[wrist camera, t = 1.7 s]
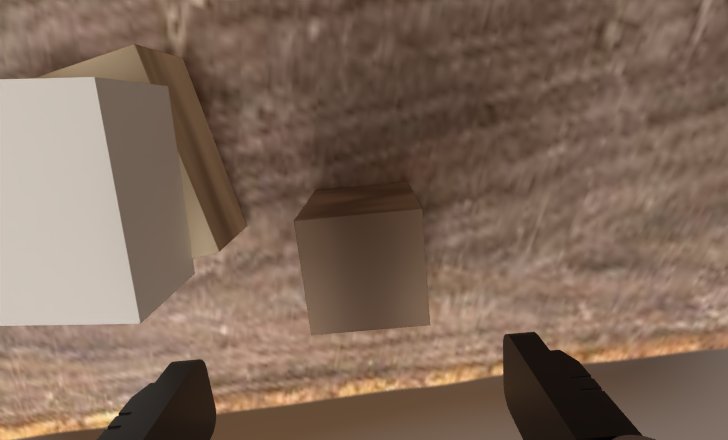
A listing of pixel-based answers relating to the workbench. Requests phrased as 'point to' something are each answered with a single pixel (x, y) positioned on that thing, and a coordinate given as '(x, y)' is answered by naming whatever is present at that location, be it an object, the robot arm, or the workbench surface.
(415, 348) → the workbench surface
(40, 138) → the top block
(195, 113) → the bottom block
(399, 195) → the walnut block
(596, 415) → the robot arm
